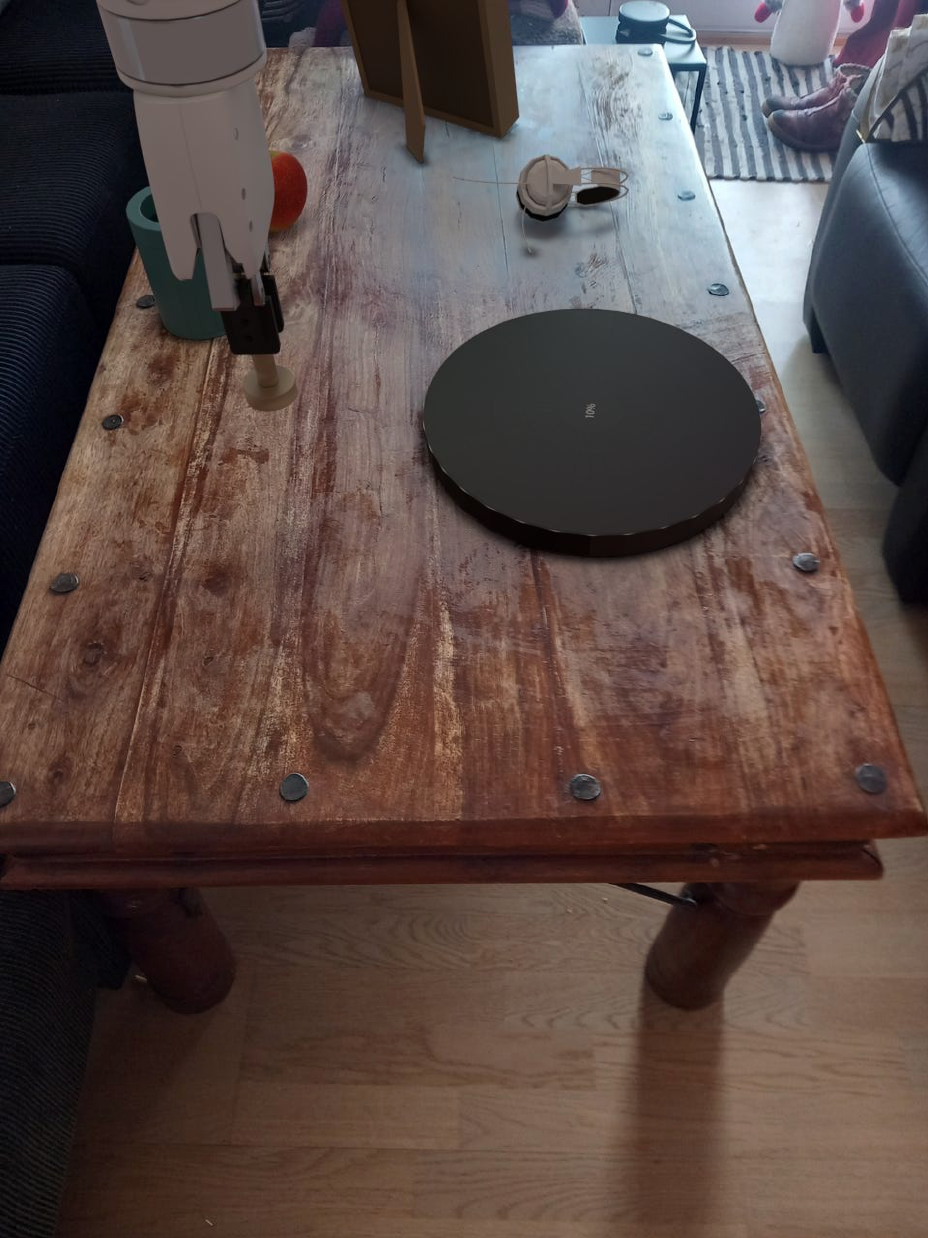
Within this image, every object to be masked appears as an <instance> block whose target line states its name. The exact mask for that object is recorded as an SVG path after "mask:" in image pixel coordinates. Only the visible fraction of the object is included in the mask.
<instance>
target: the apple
mask: <svg viewBox="0 0 928 1238" xmlns="http://www.w3.org/2000/svg"><path fill="white" fill-rule="evenodd" d="M269 152H270V158H271V164H272V171H273V179H274V205H273V211H272V217H271V222H270V227H269V232H268V233H280V232H283V231H285V230H287V229H290V228H291V227H292V226H293V225H295V223H296V222H297V221H298V219H299V218H300V217H301V215H302V213H303V211H304V208H305V206H306V202H307V198H308V177H307V175H306V172H305V169H304V167H303V166H302V164H301V162H300V161H299V160H298V159H297V158H296V156H294V155H293V154H291V153H289V152H287V151H282V150H281V151H280V150H274V149H269Z"/></svg>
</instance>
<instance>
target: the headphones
mask: <svg viewBox="0 0 928 1238" xmlns="http://www.w3.org/2000/svg"><path fill="white" fill-rule="evenodd" d="M583 170H585V171H586V170H591V171H590V172H587V173H583V174H582V171H583ZM621 173H622V174H623V175H625V178H624V179H622V180H621ZM588 174H590V179H589V178H587V177H583V176H585V175H588ZM452 178H453V179H456V180H461V181H467V182H474V183H483V184H499V185H500V184H503V185H517V186H516V193H515V198H516V201H517V205H518V208H519V210H520V211H521V212H522V217H521V228H522V229H521V230H522V234H523V239H524V242H525V244H526V246H527V247H526V248H527V250H528V253H529V254H532V253H533V251H532V249H531V248H530V247H529V244H528V242H527V239H526V234H525V231H524V215H525V216H526V217H527V218H528V219H529V220H532V221H536V222H539V223H545V222H548V221H551V220H555V219H558V218H559V216H560V215H562V213H563V212H564V211H565V210H566V209H567V208H578V207H591V206H597V205H602V204H606V203H610V202H614V201H616V200H619V199H622V198H624V197H625V196H627V195H628V193H629V191H630V189H629V188H628V186H626V185H625V184H623V183H625V182H626V181H627V180H628V179H629V174H628V173H627V172H626V171H625V170H623V169H620V168H617V167H610V166H590V167H589V166H588V167H586V166H585V167H582V166H577V167H574V168H570V167H569V165H567V164H566V163H565V162H564V161H563V160H562V159H561V158H559V157H558V156H553V155H550V154H543V155H540V156H537V157H534V158H532V159H530V160H529V161H528V162H527V164H526V165H525V166H524V167H523V169H522V170H521V171H520V172H519V177H518V181H517V182H503V181H485V180H475V179H468V178H461V177H457V176H453V177H452ZM582 179H585V180H587V181H588V182H587V181H586V182H582ZM582 185H595V186H590V187H583V188H581V189H580V190H573V188H574V186H578V187H582ZM621 188H624V189H625V190H626V191H625V192H624V193H623V194H622V195H621V190H622V189H621ZM572 196H574V200H571V199H572V198H571V197H572ZM569 202H571V203H575V204H569Z"/></svg>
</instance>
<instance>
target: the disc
mask: <svg viewBox="0 0 928 1238" xmlns="http://www.w3.org/2000/svg"><path fill="white" fill-rule="evenodd" d="M757 402H758V401H757V399H756V396H755V393H754V392H753V390H752V389H751V386H750V385H749V384H748V382H747V380H746V379H745V377H744V376H743V374H742V373H741V371H739V370H738V368H736V366H734V365H733V364H732V363H731V362H730V360H729V359H728V358H727V357H726V356H725V355H724V354H722V353H721V352H720V351H718V350H717V349H716V348H714V347H713V346H712V345H710V344H708V343H707V342H706V341H704V340H703V339H702V338H699V337H697V336H695V335H693V334H692V333H689V332H688V331H685V330H683V329H682V328H680V327H677V326H675V325H672V324H669V323H667V322H664V321H661V320H658V319H656V318H652V317H649V316H645V315H640V314H636V313H632V312H626V311H621V310H612V309H601V308H589V307H587V308H585V307H584V308H583V307H582V308H558V309H552V310H545V311H539V312H534V313H533V312H532V313H528V314H524V315H522V316H517V317H514V318H511V319H507V320H505V321H504V320H503V321H502V322H499V323H497V324H495V325H492V326H491V327H488V328H486V329H484V330H482V331H479V332H478V333H476V334H475V335H473V336H472V337H471V338H469V339H468V340H466V341H465V342H463V343H462V344H460V345H458V346H457V347H456V349H455V350H453V351H452V352H451V353H450V355H449V356H447V358H446V359H445V360H443V362H441V363H440V365H439V367H438V369H437V370H436V372H435V374H434V375H433V377H432V379H431V380H430V382H429V383H428V388H427V390H426V394H425V397H424V401H423V403H422V406H423V408H422V409H423V410H422V413H423V416H422V417H423V419H422V420H423V423H422V424H423V429H424V433H425V444H426V445H425V446H426V447H425V449H426V451H427V455H428V458H429V462H430V465H431V469H432V472H433V473H434V475H435V477H436V479H437V480H438V481H439V483H440V485H441V487H442V488H443V490H444V491H445V493H446V494H447V495H448V496H449V497H450V498H451V499H452V500H453V501H454V502H455V503H456V504H457V505H458V506H459V508H461V509H462V510H463V511H464V512H465V513H466V514H467V515H469V516H470V517H471V518H473V519H474V520H476V521H477V522H479V523H481V524H482V525H483V526H484V527H486V528H488V529H489V530H491V531H493V532H495V533H497V534H500V535H502V536H503V537H506V538H508V539H510V540H512V541H514V542H517V543H519V544H522V545H525V546H526V545H527V546H530V547H533V548H537V549H541V550H543V551H548V552H551V553H557V554H563V555H564V554H565V555H573V556H582V557H587V558H588V557H622V556H623V557H625V556H629V555H634V554H640V553H641V554H642V553H646V552H651V551H656V550H661V549H663V548H665V547H668V546H671V545H674V544H677V543H679V542H682V541H685V540H687V539H690V538H691V537H693V536H695V535H696V534H698V533H700V532H701V531H703V530H704V529H706V528H708V527H710V526H712V525H713V524H715V523H716V522H717V521H718V520H719V519H720V518H721V517H722V516H723V515H725V513H727V511H728V510H730V509H731V508H732V507H733V506H734V505H735V503H736V502H737V500H738V498H739V497H740V496H741V493H742V492H743V491H744V489H745V487H746V486H747V484H748V482H749V478H750V475H751V471H752V469H753V465H754V463H755V462H756V459H757V456H758V451H759V448H760V445H761V441H762V415H761V412H760V409H759V406H758V403H757Z"/></svg>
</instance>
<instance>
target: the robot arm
mask: <svg viewBox="0 0 928 1238" xmlns="http://www.w3.org/2000/svg"><path fill="white" fill-rule="evenodd" d="M95 2H96V5H97V9H98V12H99V16H100V19H101V21H102V25H103V30H104V32H105V35H106V38H107V43H108V46H109V49H110V51H111V55H112V59H113V61H114V65H115V69H116V72H117V75H118V77H119V80H120V81H121V82H122V83H124V84H125V86H127V87H129V88H130V89H132V90H133V104H134V112H135V118H136V124H137V130H138V135H139V141H140V147H141V152H142V156H143V161H144V166H145V170H146V174H147V177H148V178H147V179H148V183H149V186H150V188H151V192H152V196H153V200H154V204H155V208H156V212H157V216H158V220H159V224H160V228H161V232H162V236H163V240H164V243H165V247H166V251H167V255H168V259H169V262H170V266H171V269H172V272H173V274H174V275H175V276H176V277H177V278H178V279H179V280H181V281H185V280H186V279H192V278H193V274H194V271H195V267H196V263H197V260H198V256H199V253H200V249H202V253H203V257H204V263H205V269H206V275H207V281H208V287H209V293H210V298H211V304H212V308H213V310H214V311H220V313H221V317H222V320H223V324H224V328H225V332H226V334H225V335H226V338H227V342H228V346H229V351H230V352H231V353H232V354H233V355H236V356H250V355H251V356H252V355H264V354H273V355H278V354H279V353H280V352H281V349H282V343H281V338H280V334H281V333H283V332H284V329H285V320H284V315H283V314H284V313H283V309H282V303H281V301H280V295H279V291H278V285H277V280H276V275H275V274H271V273H272V258H271V254H270V247H269V242H268V237H269V233H270V232H269V227H270V222H271V217H272V211H273V205H274V179H273V171H272V164H271V158H270V152H269V150H270V146H269V141H268V136H267V130H266V125H265V120H264V116H263V111H262V107H261V102H260V97H259V92H258V88H257V84H256V83H257V82H256V80H255V77H256V75H258V73H260V72H261V71H262V70H263V69H264V68H265V66H266V65H267V60H268V57H269V56H268V50H267V45H266V38H265V37H266V36H265V33H264V26H263V20H262V16H261V9H260V4H259V0H95ZM233 273H241V274H242V275H246V277H247V279H248V281H247V280H246V279H245V278H234V276H233Z"/></svg>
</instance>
